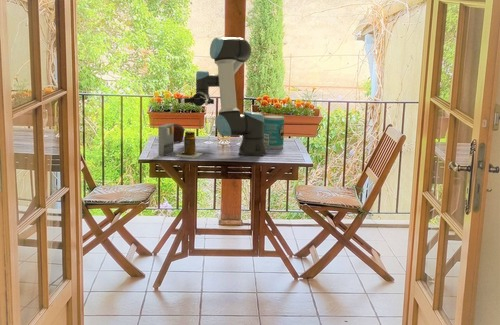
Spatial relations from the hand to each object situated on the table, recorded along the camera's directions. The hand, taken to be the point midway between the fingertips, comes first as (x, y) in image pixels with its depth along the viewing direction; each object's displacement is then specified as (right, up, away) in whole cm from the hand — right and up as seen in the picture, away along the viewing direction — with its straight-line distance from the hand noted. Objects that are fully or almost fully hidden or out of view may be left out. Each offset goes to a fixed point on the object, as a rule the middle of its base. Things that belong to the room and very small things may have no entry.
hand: (193, 102), depth 399 cm
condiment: (-2, -29, -7) cm, 30 cm away
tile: (-2, -29, -7) cm, 30 cm away
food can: (+45, -24, +23) cm, 56 cm away
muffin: (-14, -20, +35) cm, 42 cm away
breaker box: (-15, -29, -6) cm, 33 cm away
